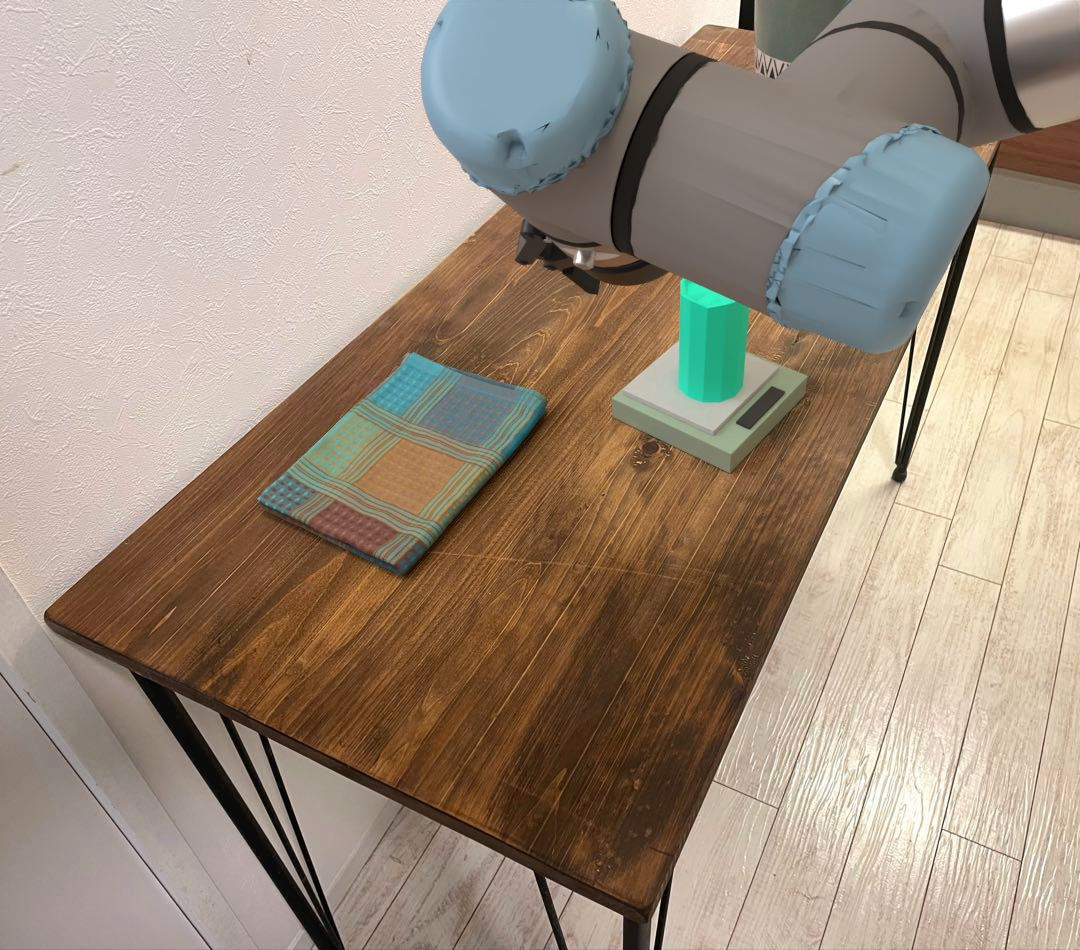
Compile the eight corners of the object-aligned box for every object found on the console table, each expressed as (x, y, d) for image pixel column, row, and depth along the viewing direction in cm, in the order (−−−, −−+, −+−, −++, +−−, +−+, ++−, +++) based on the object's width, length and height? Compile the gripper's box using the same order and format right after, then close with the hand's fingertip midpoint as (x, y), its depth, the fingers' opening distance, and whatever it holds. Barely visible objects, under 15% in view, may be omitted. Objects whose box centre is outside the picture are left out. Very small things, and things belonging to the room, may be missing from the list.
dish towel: (555, 412, 88) (553, 392, 86) (407, 582, 75) (401, 562, 73) (414, 364, 95) (410, 345, 94) (256, 511, 82) (248, 491, 80)
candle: (686, 357, 87) (689, 246, 79) (749, 366, 86) (759, 254, 77) (670, 397, 84) (672, 284, 75) (736, 407, 82) (745, 293, 73)
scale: (805, 395, 87) (809, 370, 84) (729, 473, 80) (732, 449, 78) (690, 348, 93) (691, 324, 91) (612, 417, 87) (611, 392, 85)
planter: (890, 166, 116) (925, -17, 101) (733, 157, 121) (744, -18, 106) (897, 101, 129) (930, -70, 114) (755, 95, 134) (768, -69, 119)
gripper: (379, 241, 49) (515, 315, 69) (864, 304, 41) (858, 367, 61) (405, 102, 49) (534, 217, 69) (898, 138, 41) (881, 256, 61)
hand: (687, 288), depth 65 cm, fingers open, 13 cm apart
